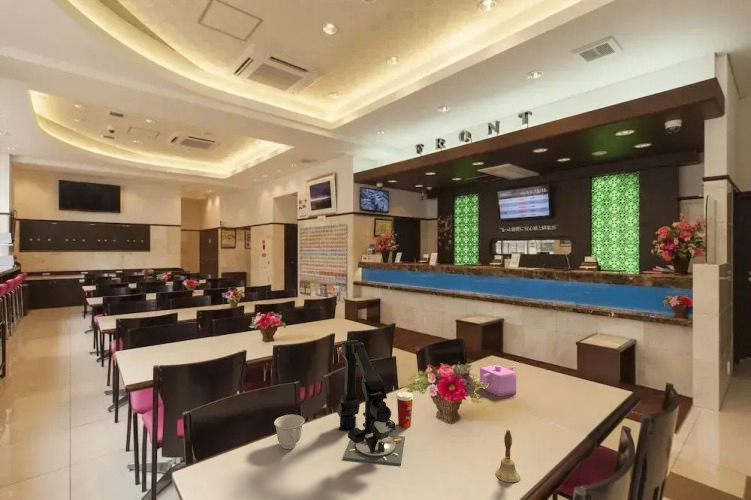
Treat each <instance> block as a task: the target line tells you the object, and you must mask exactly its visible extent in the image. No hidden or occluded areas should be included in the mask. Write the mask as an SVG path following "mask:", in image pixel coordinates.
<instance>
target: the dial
mask: <svg viewBox="0 0 751 500" xmlns="http://www.w3.org/2000/svg"><path fill="white" fill-rule="evenodd" d="M395 448H396V443H395V441H394V439H393V438H391V437H390V436H388V437H387V438H384V439H382V440H378V442H377V445H376V447H375V450H374V452H373V453H371V452H370V449H369V447H368V445H367V442H366V440H365V439H364V441H363V442H360V443H356V449H357V450H358V451H359V452H360V453H362V454H364V455H367V456H372V457H381V456H386V455H388V454H390V453H392V452H393V451H394V450H395Z"/></svg>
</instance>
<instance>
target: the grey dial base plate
mask: <svg viewBox="0 0 751 500" xmlns="http://www.w3.org/2000/svg"><path fill="white" fill-rule="evenodd" d="M389 436H390V437H391V438H393V439H394V441H395V443H396V448H395V450H394V451H393V452H392V453H390V454H388V455H386V456H381V457H372V456H367V455H364V454H362V453H360V452H359V451H358V450H357V449H356V443H355V442H353V441H352V440H351V439H350V441H349V443H348V445H347V448H346V450H345V453H344V455H343V456H342V460H343V461H353V462H365V463H374V464H382V465H383V464H384V465H385V464H386V465H394V466H402V460H403V454H404V447H405V440H406V436H403V435H392V434H389Z"/></svg>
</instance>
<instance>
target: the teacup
mask: <svg viewBox="0 0 751 500" xmlns="http://www.w3.org/2000/svg"><path fill="white" fill-rule="evenodd" d="M304 423H305V418H304V417H303V416H302V415H298V414H285V415H282V416H279V417H278V418H276V419H275V420H274V422H273V425H274V426H275V429H276V430H275V431H276V438H277V442H278V444H280V445H281V448H282V449H284V450H292V449H294V448H296V447H297V443H299V441H300V440H301V437H302V430H303V425H304Z"/></svg>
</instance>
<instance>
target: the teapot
mask: <svg viewBox="0 0 751 500" xmlns="http://www.w3.org/2000/svg"><path fill="white" fill-rule="evenodd" d="M515 368H516V366H515V365H512V366H510V367H509V368H507V367H503V366H502V365H499V364H494V365H489V366H484V367H479V383H480V382H483V383H489V385H488V387H487V388H485V389H482V390H484V391H485V392H488V393H490V394H492V395H494V396H496V397H498V398H502V397H506V396H511V395H513V394H514V395H515V394H517V372H516V371H514V369H515Z"/></svg>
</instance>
